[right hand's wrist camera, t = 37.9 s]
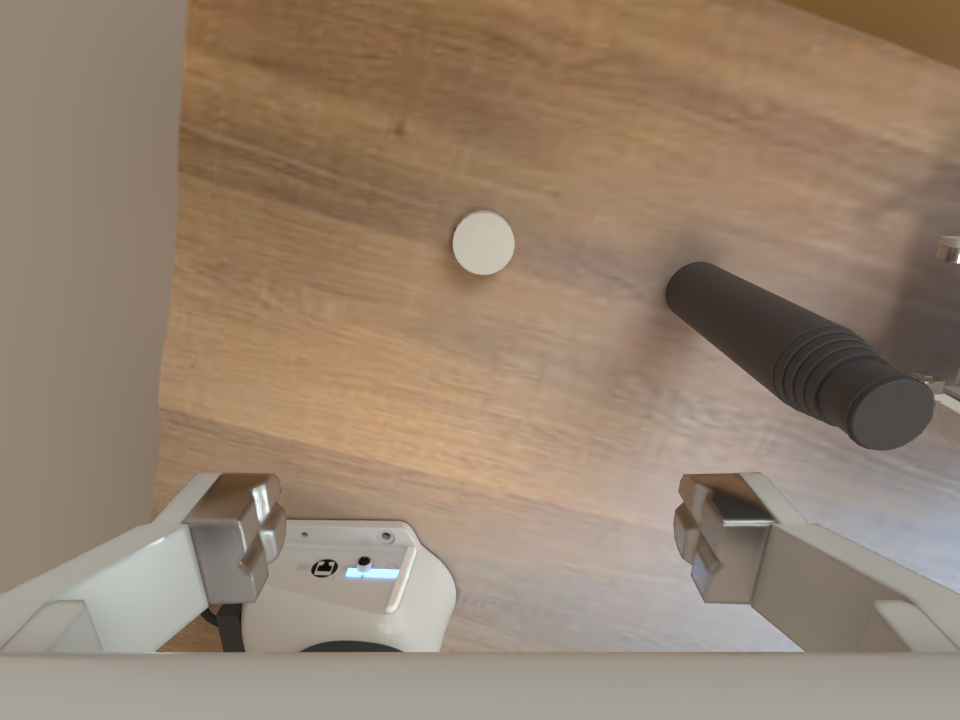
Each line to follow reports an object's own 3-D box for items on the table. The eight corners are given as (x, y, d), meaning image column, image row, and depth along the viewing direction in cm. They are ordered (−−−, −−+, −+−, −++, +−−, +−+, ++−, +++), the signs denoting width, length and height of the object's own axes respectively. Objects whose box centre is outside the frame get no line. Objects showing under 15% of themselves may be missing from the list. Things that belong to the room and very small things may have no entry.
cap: (526, 238, 41) (528, 241, 39) (485, 282, 42) (485, 288, 40) (481, 196, 39) (481, 197, 38) (440, 243, 41) (439, 247, 39)
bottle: (694, 330, 43) (880, 483, 23) (654, 295, 42) (813, 424, 22) (737, 286, 42) (975, 408, 22) (697, 249, 41) (908, 342, 21)
